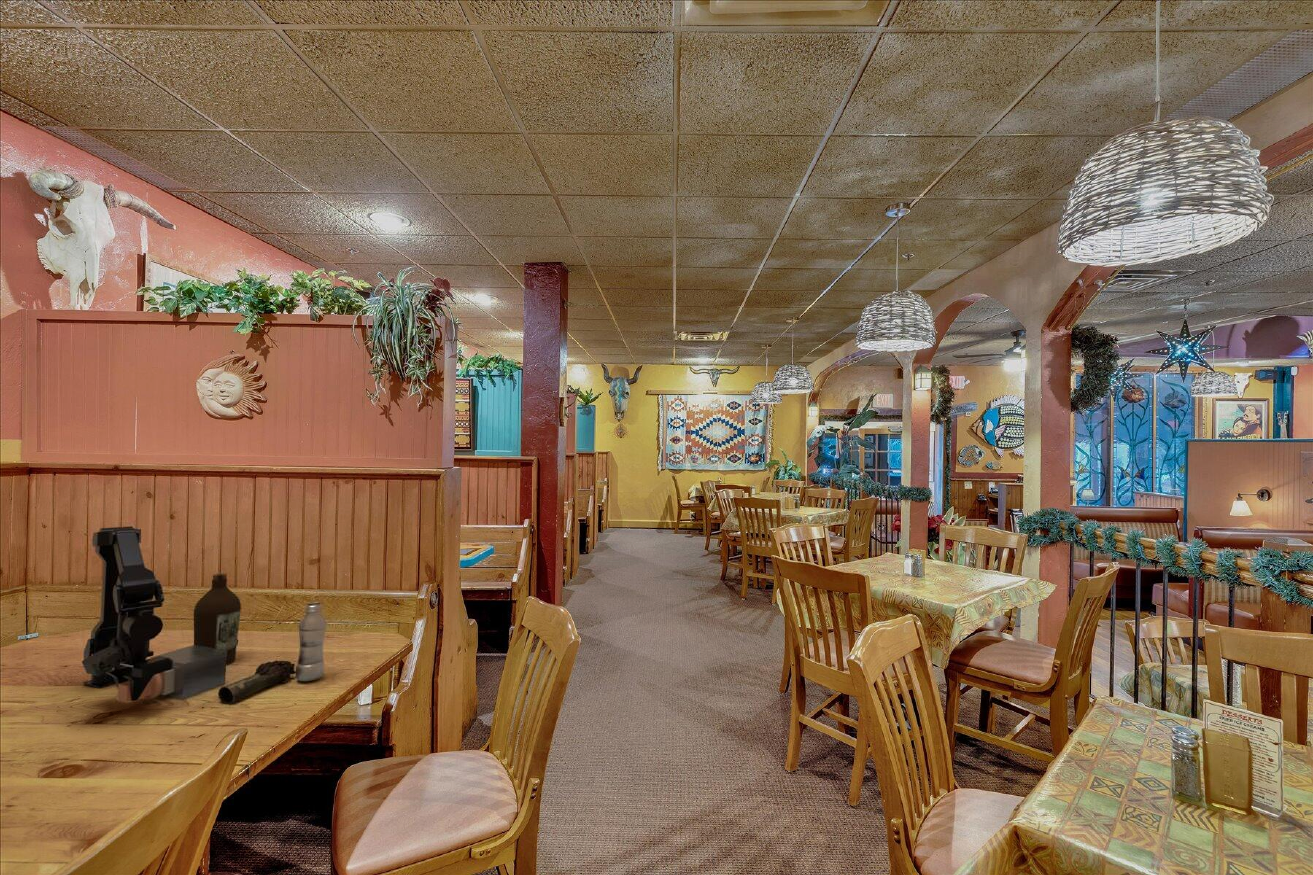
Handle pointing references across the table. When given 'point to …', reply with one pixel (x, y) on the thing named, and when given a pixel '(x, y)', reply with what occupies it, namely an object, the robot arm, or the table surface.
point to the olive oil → (218, 618)
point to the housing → (197, 670)
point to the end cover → (150, 686)
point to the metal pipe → (257, 681)
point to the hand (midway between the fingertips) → (129, 699)
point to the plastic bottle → (311, 643)
